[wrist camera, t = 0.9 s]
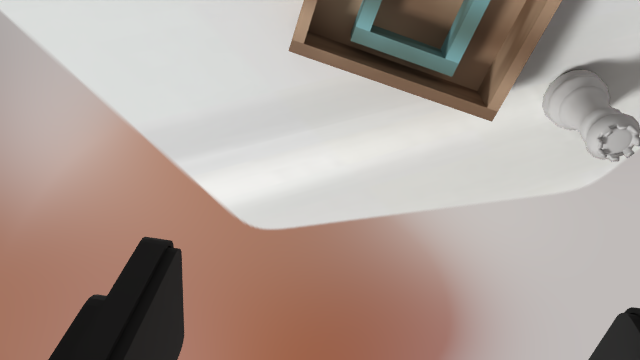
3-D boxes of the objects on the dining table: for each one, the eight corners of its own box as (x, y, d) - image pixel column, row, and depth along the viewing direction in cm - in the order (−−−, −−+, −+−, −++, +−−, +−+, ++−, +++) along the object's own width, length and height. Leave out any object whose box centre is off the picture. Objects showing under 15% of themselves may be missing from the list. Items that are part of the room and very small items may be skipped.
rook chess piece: (529, 90, 37) (568, 138, 30) (586, 55, 35) (642, 96, 28) (556, 133, 39) (599, 186, 32) (611, 100, 37) (669, 150, 30)
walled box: (346, -134, 30) (344, -136, 27) (560, -48, 32) (585, -40, 28) (294, 35, 36) (288, 51, 32) (479, 99, 38) (491, 121, 34)
